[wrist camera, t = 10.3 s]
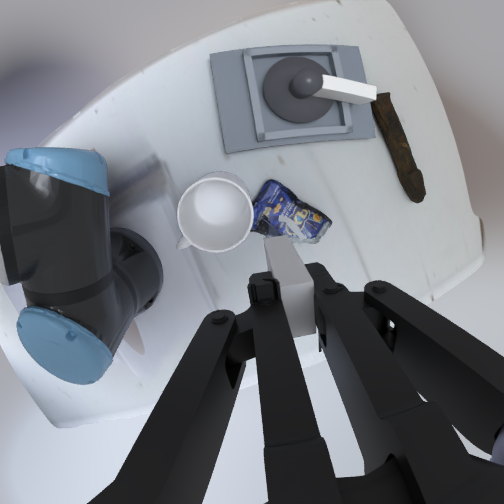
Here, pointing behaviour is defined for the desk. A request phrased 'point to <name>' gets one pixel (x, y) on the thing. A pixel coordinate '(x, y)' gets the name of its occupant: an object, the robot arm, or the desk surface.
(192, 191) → the mug
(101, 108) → the desk surface
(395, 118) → the dark brown lumpy bar
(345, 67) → the panel
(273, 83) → the dial
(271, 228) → the snack package
